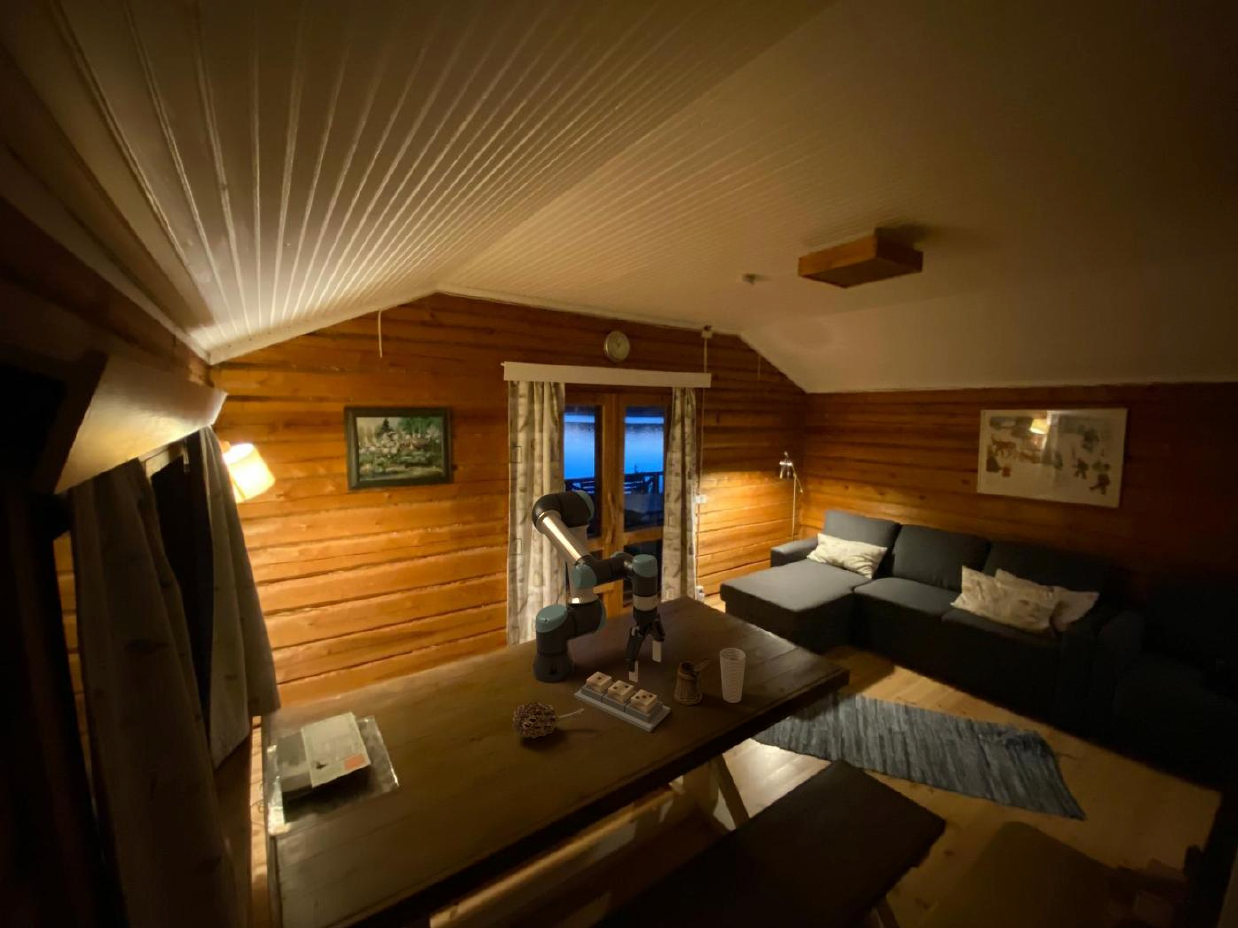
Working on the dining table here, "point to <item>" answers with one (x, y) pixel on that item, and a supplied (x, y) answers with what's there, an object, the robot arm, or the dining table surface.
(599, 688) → the tan square block
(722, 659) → the cup
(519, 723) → the pine cone
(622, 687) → the tile
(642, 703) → the tile
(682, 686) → the wooden mug
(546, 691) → the dining table surface
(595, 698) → the button board
